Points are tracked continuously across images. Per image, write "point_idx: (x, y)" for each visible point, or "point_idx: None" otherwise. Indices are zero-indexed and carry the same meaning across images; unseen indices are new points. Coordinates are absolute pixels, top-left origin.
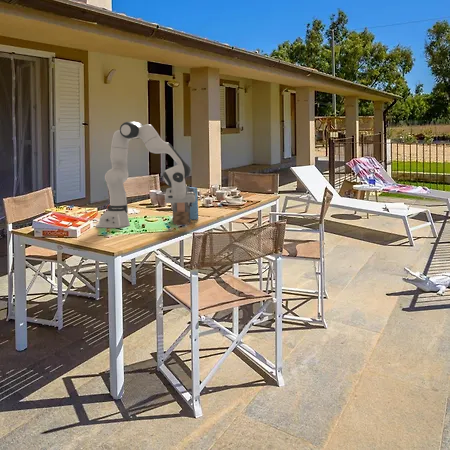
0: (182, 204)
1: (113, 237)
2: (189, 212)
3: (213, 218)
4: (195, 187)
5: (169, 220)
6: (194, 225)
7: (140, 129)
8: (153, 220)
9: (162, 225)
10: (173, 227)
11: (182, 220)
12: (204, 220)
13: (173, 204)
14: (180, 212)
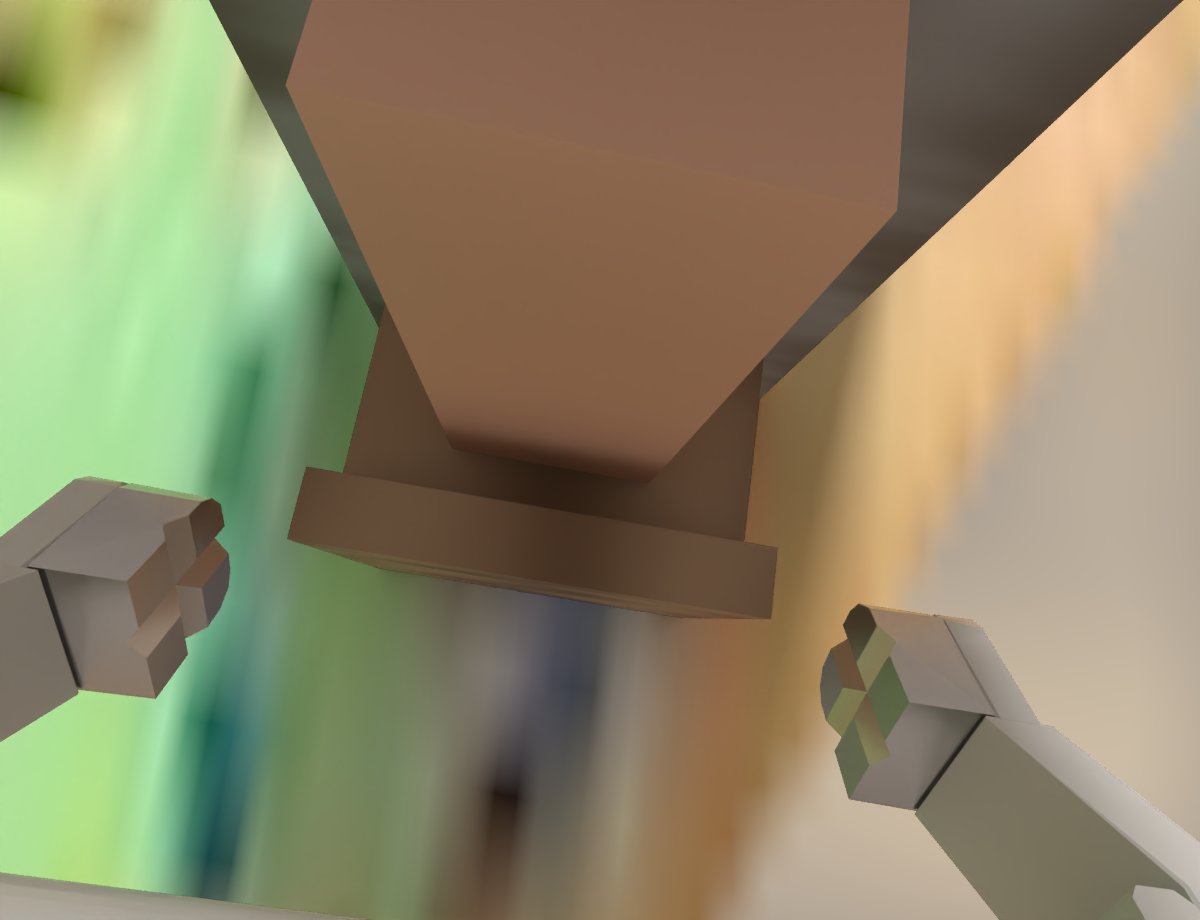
0: (648, 372)
1: None
2: (802, 340)
3: (1148, 144)
4: None
5: None
6: (795, 743)
7: None
8: (63, 5)
9: None
10: (319, 884)
11: (566, 595)
12: (999, 274)
13: (88, 685)
14: (523, 579)
